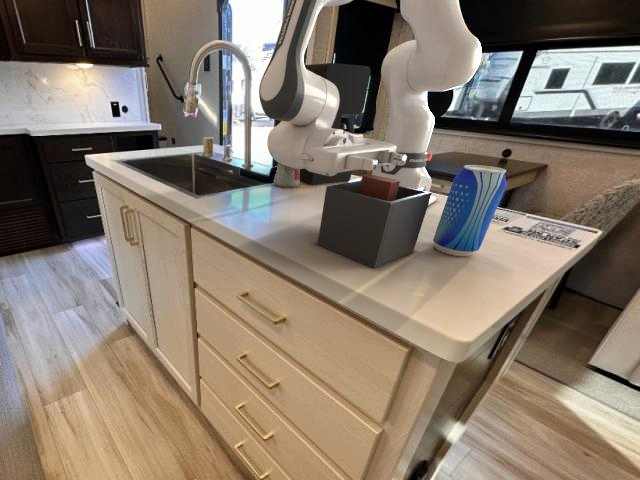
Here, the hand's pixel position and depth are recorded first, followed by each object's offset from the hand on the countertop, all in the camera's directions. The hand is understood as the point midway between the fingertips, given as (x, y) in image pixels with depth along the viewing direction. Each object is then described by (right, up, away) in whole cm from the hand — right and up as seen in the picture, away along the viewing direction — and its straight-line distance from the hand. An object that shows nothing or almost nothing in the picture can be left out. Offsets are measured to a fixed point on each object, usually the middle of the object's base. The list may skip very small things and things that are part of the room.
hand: (390, 162), depth 60 cm
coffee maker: (+1, +22, +68) cm, 71 cm away
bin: (-1, -14, +9) cm, 17 cm away
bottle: (-11, +15, +55) cm, 58 cm away
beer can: (+17, -14, +10) cm, 25 cm away
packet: (-1, -13, +9) cm, 16 cm away
